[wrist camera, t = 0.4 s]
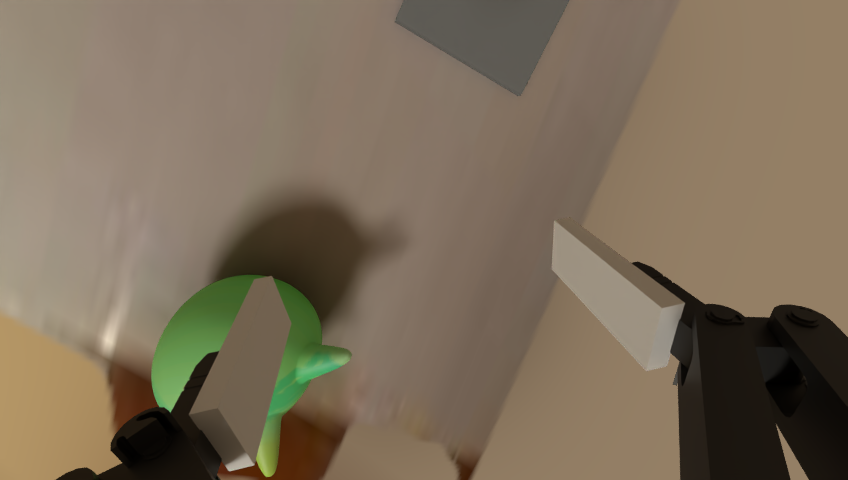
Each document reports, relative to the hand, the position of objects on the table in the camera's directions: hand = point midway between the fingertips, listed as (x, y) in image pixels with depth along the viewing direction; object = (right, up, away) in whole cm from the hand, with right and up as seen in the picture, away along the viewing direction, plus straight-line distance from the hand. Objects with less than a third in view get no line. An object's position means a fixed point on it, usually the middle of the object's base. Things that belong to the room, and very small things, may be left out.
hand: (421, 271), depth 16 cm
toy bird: (-21, -9, +29) cm, 36 cm away
